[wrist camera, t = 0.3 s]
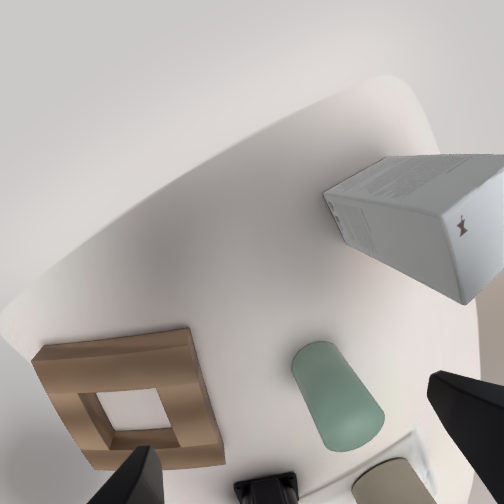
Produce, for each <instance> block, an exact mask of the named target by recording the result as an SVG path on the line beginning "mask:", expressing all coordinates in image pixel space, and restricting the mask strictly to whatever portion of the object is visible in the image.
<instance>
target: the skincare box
mask: <svg viewBox="0 0 504 504" xmlns="http://www.w3.org/2000/svg"><path fill="white" fill-rule="evenodd" d="M323 195H324V197H325V200H326V202H327V204H328V206H329V208H330V210H331V212H332V214H333V216H334V218H335V220H336V222H337V224H338V227H339V229H340V231H341V233H342V235H343V238H344V240H345V242H346V244H347V245H348V246H350V247H353V248H355V249H357V250H359V251H361V252H363V253H365V254H367V255H368V256H370V257H373V258H375V259H377V260H379V261H380V262H382V263H384V264H386V265H388V266H390V267H392V268H394V269H396V270H398V271H400V272H402V273H404V274H406V275H408V276H409V277H411V278H413V279H415V280H417V281H419V282H421V283H423V284H425V285H427V286H429V287H430V288H432V289H434V290H436V291H438V292H440V293H441V294H443V295H445V296H447V297H449V298H450V299H452V300H454V301H456V302H458V303H460V304H462V305H467V304H468V303H469V302H470V301H471V300H472V299H473V298H474V297H475V296H476V295H477V294H478V293H479V292H480V291H482V290H483V289H484V288H485V287H486V286H487V285H488V284H489V283H490V282H491V281H492V280H493V279H494V278H495V277H496V276H497V275H498V274H499V273H500V272H501V271H502V269H504V155H492V154H455V155H454V154H453V155H452V154H449V155H418V156H396V157H386V158H384V159H382V160H381V161H379V162H377V163H375V164H373V165H372V166H370V167H368V168H366V169H364V170H363V171H361V172H359V173H357V174H355V175H354V176H352V177H350V178H348V179H346V180H345V181H343V182H341V183H339V184H338V185H336V186H334V187H332V188H330V189H329V190H327V191H325V192H323Z"/></svg>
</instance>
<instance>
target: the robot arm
mask: <svg viewBox="0 0 504 504" xmlns="http://www.w3.org/2000/svg"><path fill="white" fill-rule="evenodd" d="M427 397H428V400H429V402H430V403H431V405H432V407H433V409H434V410H435V412H436V414H437V416H438V417H439V419H440V421H441V423H442V424H443V426H444V428H445V429H446V431H447V432H448V434H449V435H450V437H451V438H452V439H453V441H454V442H455V444H456V445H457V446H458V448H459V449H460V450H461V452H462V453H463V455H464V456H465V457H466V459H467V460H468V462H469V463H470V464H471V466H472V467H473V469H474V470H475V472H476V473H477V474H478V476H479V477H480V479H481V480H482V482H483V483H484V484H485V486H486V487H487V489H488V490H489V492H490V493H491V495H492V496H493V498H494V499H495V501H496V502H497V503H498V504H504V386H501V385H497V384H493V383H489V382H484V381H480V380H476V379H473V378H469V377H465V376H461V375H457V374H453V373H450V372H446V371H442V370H440V371H437V372H435V373H433V374H431V375H430V377H429V383H428V389H427ZM234 490H235V493H236V495H237V498H238V500H239V502H240V504H298V501H299V497H298V488H297V479H296V474H295V473H287V474H283V475H278V476H273V477H269V478H263V479H258V480H252V481H246V482H240V483H235V484H234ZM87 504H164V490H163V474H162V464H161V461H160V459H159V457H158V455H157V454H156V452H155V450H154V448H153V447H152V445H149V444H148V445H138V446H137V447H136V448H135V449H134V450H133V452H132V453H131V454H130V455H129V456H128V457H127V459H126V460H125V461H124V462H123V463H122V464H121V466H120V467H119V468H118V469H117V470H116V471H115V472H114V474H113V475H112V476H111V477H110V478H109V479H108V480H107V482H106V483H105V484H104V485H103V486H102V487H101V488H100V489H99V491H98V492H97V493H96V494H95V495H94V496H93V497H92V498H91V499H90V501H89V502H88V503H87Z"/></svg>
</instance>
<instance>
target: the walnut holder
mask: <svg viewBox="0 0 504 504" xmlns="http://www.w3.org/2000/svg"><path fill="white" fill-rule="evenodd" d="M31 363H32V365H33V367H34V369H35V371H36V373H37V375H38V377H39V379H40V381H41V383H42V385H43V387H44V389H45V391H46V393H47V395H48V397H49V399H50V400H51V402H52V404H53V406H54V408H55V409H56V411H57V413H58V415H59V416H60V418H61V420H62V421H63V423H64V425H65V426H66V428H67V430H68V431H69V433H70V434H71V436H72V438H73V439H74V441H75V442H76V444H77V445H78V447H79V448H80V450H81V451H82V453H83V454H84V456H85V457H86V459H87V460H88V461H89V463H90V464H91V466H92V467H93V468H94V470H109V471H116V470H117V469H118V468H119V467H120V466H121V464H122V463H123V462H124V461H125V460H126V459H127V457H128V456H129V455H130V454H131V453H132V452H133V450H134V449H135V448H136V447H137V446H138V445H148V444H149V445H152V447H153V448H154V450H155V452H156V454H157V455H158V457H159V459H160V461H161V464H162V470H175V469H189V468H199V467H209V466H217V465H225V464H226V463H225V453H224V444H223V441H222V438H221V435H220V432H219V429H218V426H217V423H216V419H215V416H214V413H213V410H212V407H211V403H210V400H209V397H208V394H207V390H206V387H205V383H204V380H203V377H202V373H201V370H200V366H199V362H198V359H197V355H196V351H195V348H194V344H193V340H192V336H191V333H190V329H189V328H185V329H178V330H172V331H165V332H159V333H152V334H144V335H137V336H130V337H122V338H114V339H105V340H97V341H88V342H78V343H68V344H57V345H46V346H43V347H42V348H41V350H40V351H39V352H38V353H37V354H36V356H35V357H34V358H33V359H32V360H31ZM149 388H156V389H157V392H158V395H159V397H160V400H161V402H162V405H163V407H164V409H165V412H166V414H167V417H168V419H169V421H170V424H171V426H172V428H166V429H154V430H137V431H114V429H113V427H112V425H111V424H110V422H109V420H108V418H107V416H106V414H105V412H104V410H103V408H102V406H101V404H100V402H99V400H98V398H97V396H96V394H95V393H96V392H113V391H127V390H139V389H149Z"/></svg>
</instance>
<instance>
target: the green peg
mask: <svg viewBox="0 0 504 504" xmlns="http://www.w3.org/2000/svg"><path fill="white" fill-rule="evenodd" d="M292 372H293V375H294V377H295V379H296V382H297V384H298V386H299V389H300V391H301V393H302V395H303V398H304V400H305V402H306V404H307V407H308V409H309V411H310V414H311V416H312V418H313V420H314V423H315V425H316V427H317V429H318V432H319V434H320V436H321V438H322V441H323V443H324V445H325V446H326V448H327V449H329V450H331V451H335V452H346V451H350V450H354V449H356V448H359V447H361V446H363V445H364V444H366V443H367V442H369V441H370V440H371V439H373V438H374V437H375V436H376V435H377V434H378V432H379V431H380V429H381V428H382V426H383V424H384V420H385V415H384V412H383V410H382V409H381V407H380V406H379V405H378V403H377V402H376V401H375V399H374V398H373V397H372V395H371V394H370V392H369V391H368V390H367V388H366V387H365V386H364V384H363V383H362V381H361V380H360V379H359V377H358V376H357V375H356V373H355V372H354V371H353V369H352V368H351V367H350V365H349V364H348V362H347V361H346V360H345V358H344V357H343V356H342V354H341V353H340V352H339V350H338V349H337V348H336V347H335V346H334V345H333V344H331V343H329V342H325V341H318V342H314V343H311V344H308V345H306V346H305V347H303V348H302V349H301V350H300V351H299V352H298V353H297V354H296V356H295V357H294V359H293V362H292Z"/></svg>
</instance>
